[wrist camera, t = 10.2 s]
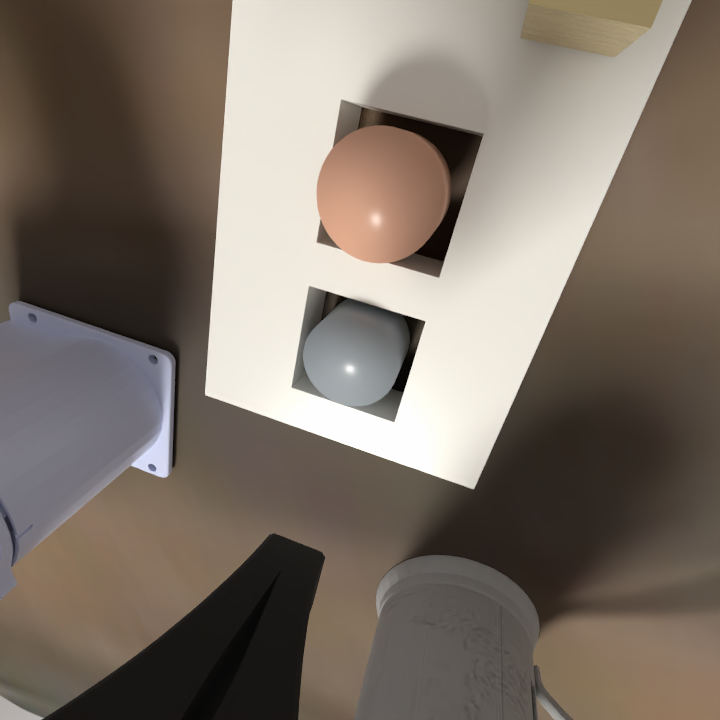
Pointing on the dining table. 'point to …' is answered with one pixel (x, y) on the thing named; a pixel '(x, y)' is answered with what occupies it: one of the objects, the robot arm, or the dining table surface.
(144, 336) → the dining table surface
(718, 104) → the dining table surface
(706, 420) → the dining table surface
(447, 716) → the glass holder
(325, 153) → the white flat block
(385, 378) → the slate button
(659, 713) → the dining table surface
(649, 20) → the brass slider
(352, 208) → the terracotta button
